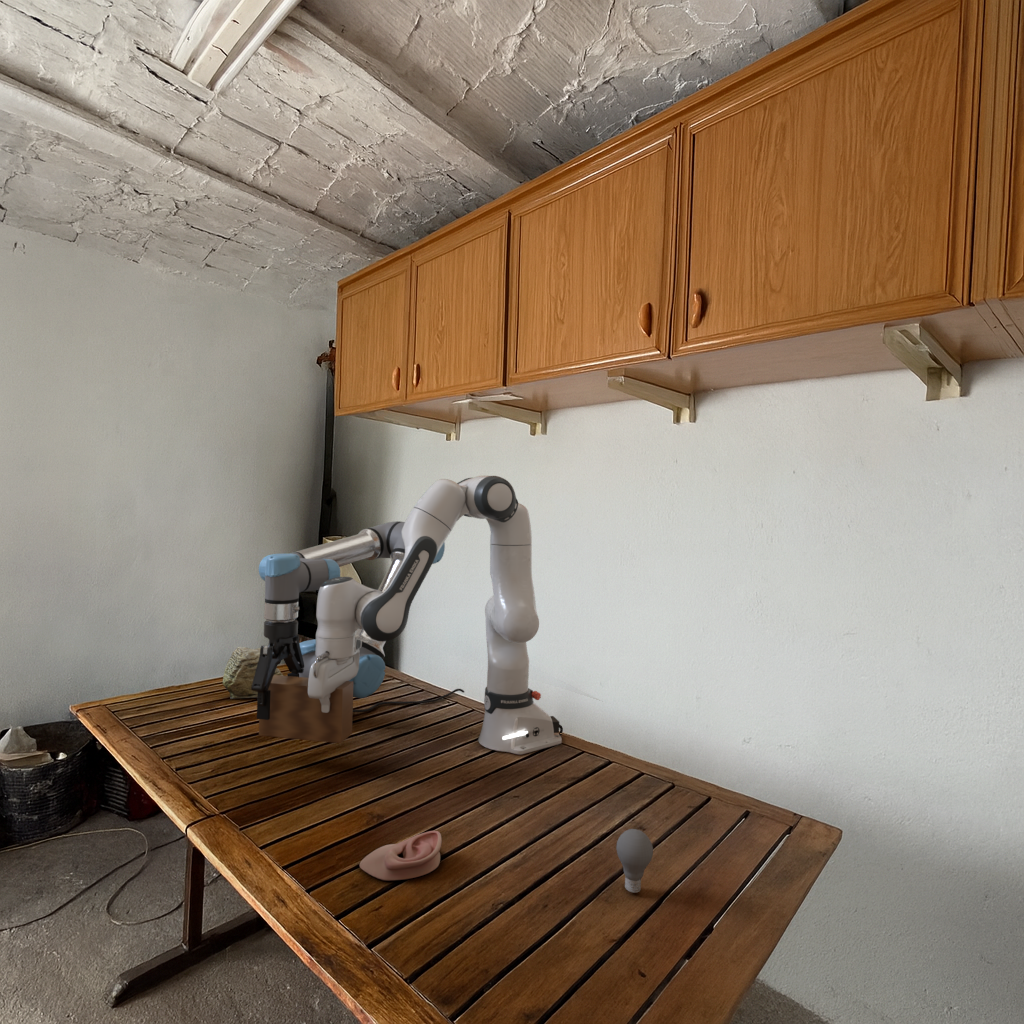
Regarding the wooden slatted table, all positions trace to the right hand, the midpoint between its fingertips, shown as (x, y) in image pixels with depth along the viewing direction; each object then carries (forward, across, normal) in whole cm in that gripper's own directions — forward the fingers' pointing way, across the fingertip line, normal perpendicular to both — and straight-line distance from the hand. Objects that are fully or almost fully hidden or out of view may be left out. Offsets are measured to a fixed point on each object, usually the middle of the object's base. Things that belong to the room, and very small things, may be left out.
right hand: (333, 706), depth 148 cm
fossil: (+14, +44, +46) cm, 65 cm away
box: (+7, 0, +7) cm, 10 cm away
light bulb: (+15, -32, -68) cm, 77 cm away
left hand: (+2, 0, +14) cm, 14 cm away
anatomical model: (+15, -33, -28) cm, 46 cm away
